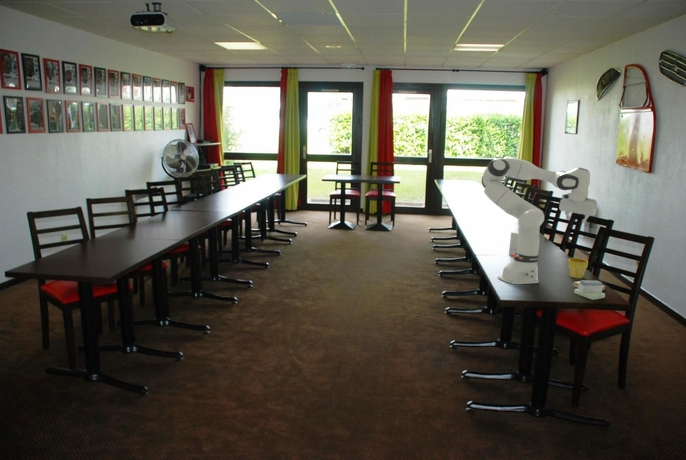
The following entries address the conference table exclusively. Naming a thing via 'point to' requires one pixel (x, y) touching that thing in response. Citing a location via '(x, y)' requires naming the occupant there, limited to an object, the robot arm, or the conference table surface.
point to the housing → (590, 286)
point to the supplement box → (513, 242)
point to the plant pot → (577, 267)
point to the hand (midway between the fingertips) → (575, 221)
